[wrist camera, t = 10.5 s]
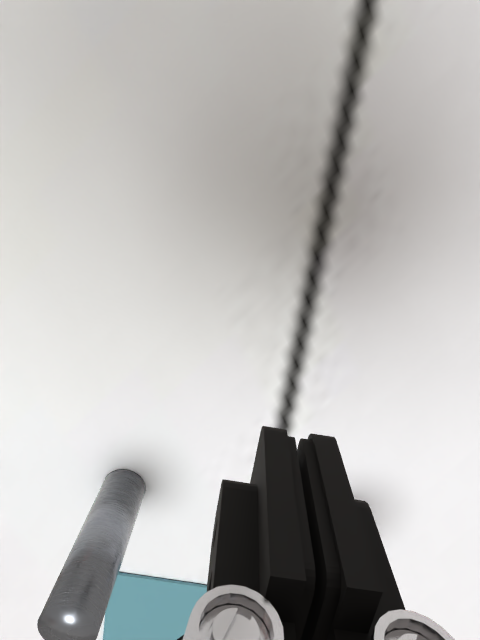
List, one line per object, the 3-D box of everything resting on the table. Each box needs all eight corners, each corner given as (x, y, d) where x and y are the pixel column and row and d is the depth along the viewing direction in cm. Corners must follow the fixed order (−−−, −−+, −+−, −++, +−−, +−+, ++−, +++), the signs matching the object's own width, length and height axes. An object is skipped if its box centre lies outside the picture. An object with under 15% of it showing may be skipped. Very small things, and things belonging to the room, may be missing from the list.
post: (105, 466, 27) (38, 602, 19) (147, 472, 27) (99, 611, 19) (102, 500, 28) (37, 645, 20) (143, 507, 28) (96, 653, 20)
